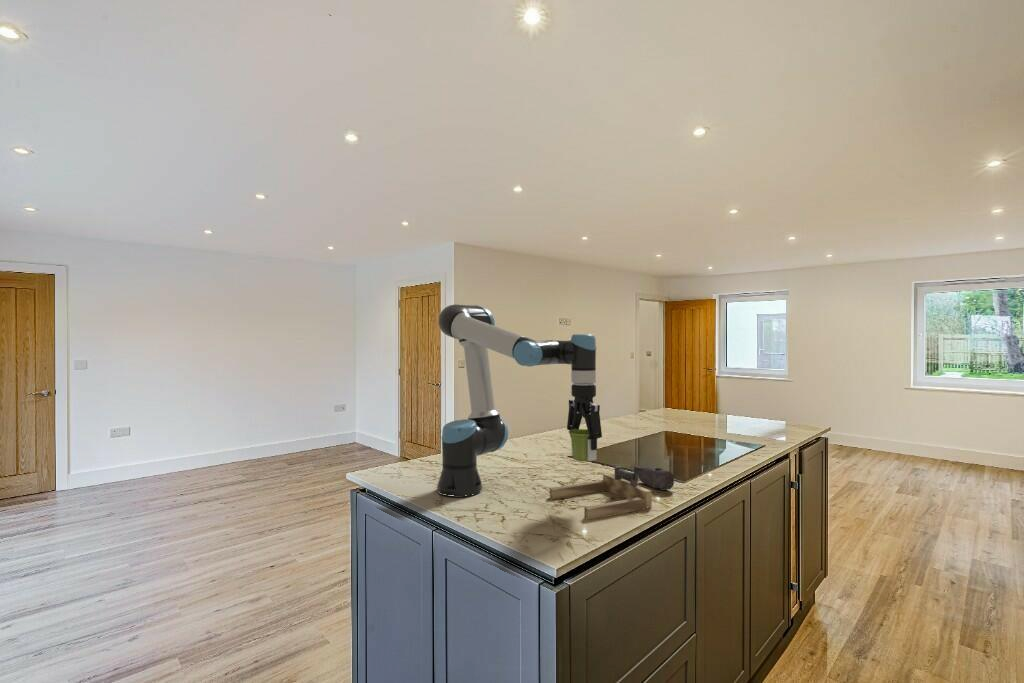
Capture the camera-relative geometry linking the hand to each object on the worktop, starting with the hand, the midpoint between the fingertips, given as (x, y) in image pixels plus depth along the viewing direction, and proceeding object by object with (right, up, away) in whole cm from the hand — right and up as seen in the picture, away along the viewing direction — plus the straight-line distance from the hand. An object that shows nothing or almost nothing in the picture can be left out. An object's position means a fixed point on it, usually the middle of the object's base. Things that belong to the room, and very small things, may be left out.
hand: (583, 456), depth 151 cm
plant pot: (0, -1, 0) cm, 1 cm away
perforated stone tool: (+27, -15, +18) cm, 36 cm away
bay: (+5, -15, +2) cm, 16 cm away
